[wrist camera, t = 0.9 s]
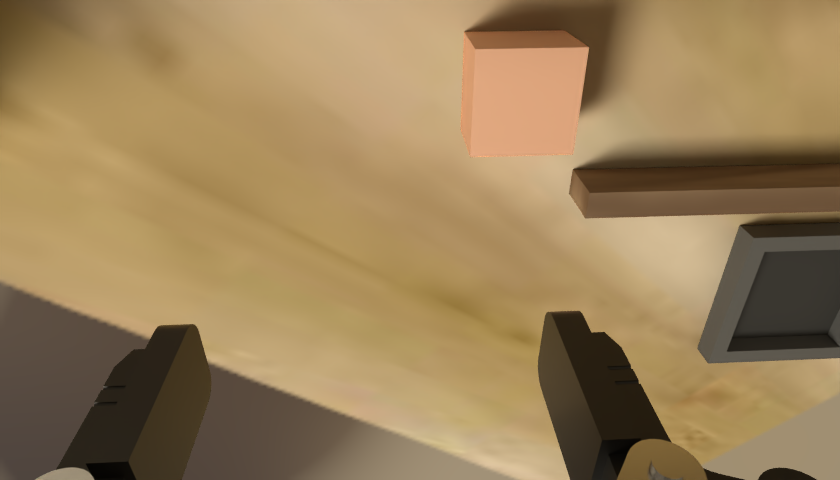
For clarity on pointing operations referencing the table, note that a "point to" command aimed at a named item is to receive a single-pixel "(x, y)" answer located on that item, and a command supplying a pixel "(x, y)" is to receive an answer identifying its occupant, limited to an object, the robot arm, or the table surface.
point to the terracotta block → (521, 92)
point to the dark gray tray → (777, 296)
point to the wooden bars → (706, 190)
